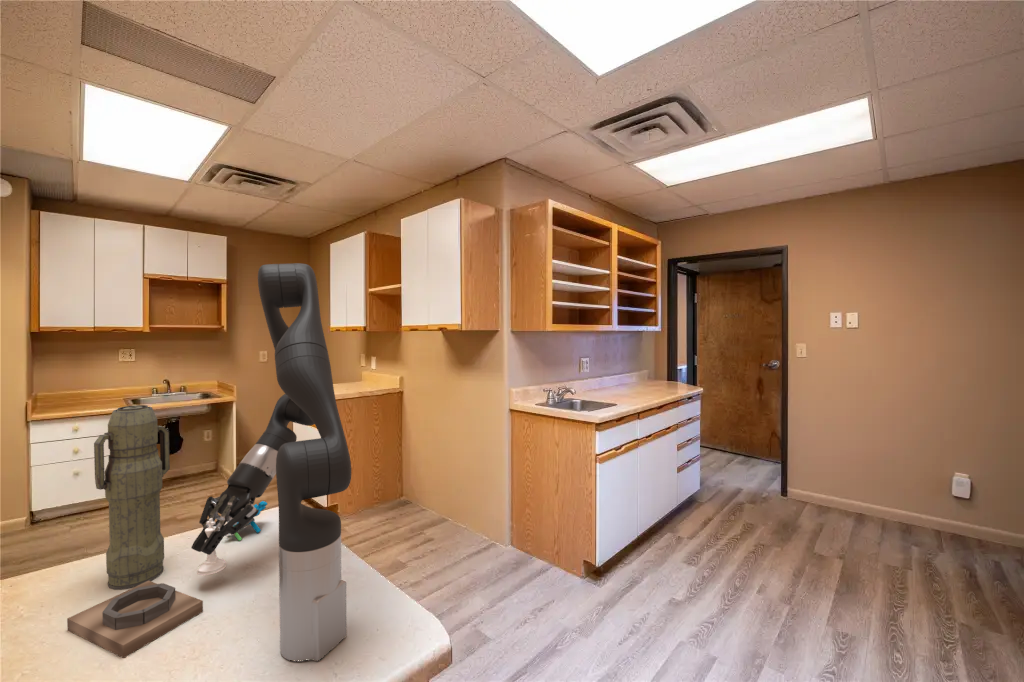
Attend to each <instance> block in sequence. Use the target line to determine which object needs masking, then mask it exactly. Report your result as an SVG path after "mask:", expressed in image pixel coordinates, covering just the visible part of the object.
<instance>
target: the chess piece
mask: <svg viewBox="0 0 1024 682" xmlns="http://www.w3.org/2000/svg"><path fill="white" fill-rule="evenodd" d="M208 519H209V518H208ZM215 523H216V521H214V522H213V518H210V519H209V521H208V522H206V524H209V527H208V528H206V529H205V533H206V535H207V537H208V538H209V536H210V535H211V533H212V532H213V531H214V532H216V531H215V528H216V526H213V525H214V524H215ZM205 542H206V540H205ZM206 556H207V557H206V560H205V561H204V562H202V563H201V564H199V566H198V567H197V569H196V574H197V575H199V576H209V575H212V574H216V573H218V572H221V571H223V570H224V569H225V568H226V567H227V560H226V559H224V558H219V557H218V556H217V552H216V549H215V550H214V551H213V552H212V553H211V554H210V555H208V554H206Z"/></svg>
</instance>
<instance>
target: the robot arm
mask: <svg viewBox="0 0 1024 682" xmlns="http://www.w3.org/2000/svg"><path fill="white" fill-rule="evenodd" d="M257 285H258V292H259V297H260V302H261V306H262V310H263V314H264V317H265V321H266V324H267V328H268V332H269V335H270V339H271V342H272V345H273V348H274V361H275V362H274V363H275V365H274V366H275V374H276V380H277V383H278V386H279V388H280V389H281V390H282V392H283V393H284V394H283V395H281V396H280V397H279V398H278V399H277V401H276V403H275V405H274V408H273V410H272V413H271V416H270V419H269V421H268V423H267V426H266V429H265V431H264V432H263V433H262V435H260V437H259V439H258V440H257V441H256V443H255V444H254V445H253V446H252V447H251V448H250V450H249V451H248V452H247V453H246V454H245V455H244V456H243V459H242V460H241V461H240V462H239V464H237V467H236V468H235V469H234V471H233V472H232V473H231V475H230V476H229V477H228V479H227V480H226V483H227V488H226V489H225V490H224V491H223V492H221V493H220V496H217V497H213V496H208V497H207V499H206V501H205V503H204V507H203V510H202V514H201V516H200V519H199V522H198V523H199V524H200V525H201V526H202V529H201V531H200V533H198V535H197V537H196V538H195V539H194V541H193V542H192V545H191V546H190V547H191V549H192V550H194V551H196V552H199V553H201V552H202V553H204V554H206V555H207V554H208V555H210V554H211V553H212V552H213V551H214V550H215V551H216V549H217V547H218V546H219V544H220V543H221V542H222V540H223V539H224V538H225V537H226V536H228V535H229V534H230V535H231V534H233V535H234V534H235V533H236V532H237V533H238V532H240V531H241V530H242V529H241V528H242V527H243V526H244V525H245V524H247V523H248V522H249V521H250V520H251V519H252V518H255V517H257V516H256V515H257V514H258V512H259V511H258V510H257V509H256V508H254V506H253V505H255V501H256V498H261V497H262V496H263V495H264V492H265V491H266V489H267V488H268V487H269V486H270V484H271V482H272V481H273V479H274V478H275V476H276V488H277V489H276V490H277V501H278V564H279V565H278V577H279V578H278V586H279V588H278V591H279V592H278V596H279V600H278V601H279V602H278V603H279V652H280V655H281V656H282V657H283V658H284V659H285V660H287V661H290V660H295V661H294V662H296V661H297V662H303V661H302V660H306V659H314V660H313V661H315V660H317V661H316V662H319V661H320V660H319V659H321V658H322V659H323V658H324V657H325V656H327V654H328V653H330V652H329V651H330V650H331V649H332V648H333V649H334V648H336V646H338V645H339V644H340V643H341V642H342V641H343V640H344V639H345V638H346V637H347V636H346V635H347V581H346V580H344V579H342V519H341V517H340V516H339V514H337V513H336V512H334V511H331V510H329V509H325V508H324V509H323V508H314V507H310V506H307V505H305V504H303V503H302V502H303V501H305V500H309V499H314V498H321V497H325V496H329V495H330V496H331V495H334V494H339V493H341V492H344V491H346V490H347V489H348V488H349V486H350V484H351V481H352V462H351V455H350V451H349V448H348V443H347V439H346V434H345V431H344V428H343V424H342V420H341V417H340V412H339V409H338V406H337V401H336V395H335V387H334V382H333V375H332V366H331V362H330V361H331V360H330V355H329V350H328V347H327V342H326V339H325V333H324V329H323V328H324V327H323V325H322V324H323V323H322V318H321V310H320V301H319V290H318V289H319V288H318V282H317V277H316V273H315V271H314V269H313V268H312V266H310V265H309V264H306V263H299V262H297V263H272V264H271V263H268V264H262V265H261V266H260V267H259V269H258V271H257ZM298 307H300V310H299V312H298V314H297V317H296V318H295V319H294V320H293V322H292V323H291V325H289V326H288V325H287V323H286V321H285V320H284V317H283V316H282V314H281V313H282V312H281V310H280V309H282V308H284V309H286V308H298ZM290 423H295V424H299V425H302V426H309V427H310V426H314V425H315V428H316V429H317V431H318V434H319V436H320V438H319V437H318V438H311V439H304V440H298V439H297V438H298V437H297V433H295V431H293V430H292V429H291V428H289V427H288V425H289V424H290ZM297 440H298V441H297ZM254 516H255V517H254ZM210 518H213V522H215V524H214V525H213V526H216V528H215V531H216V532H214V531H213V532H212V533H211V535H210V536H209V538H208V537H207V535H206V533H205V529H206V528H208V527H209V524H206V522H208V521H209V519H210ZM237 522H239V523H238V524H237ZM236 524H237V525H236ZM233 525H236V526H235V527H234V526H233ZM240 529H241V530H240ZM205 540H206V542H205ZM345 636H346V637H345ZM344 637H345V638H344ZM343 638H344V639H343ZM342 639H343V640H342ZM341 640H342V641H341ZM340 641H341V642H340ZM339 642H340V643H339ZM333 649H332V650H333ZM332 650H331V651H332ZM324 655H325V656H324ZM323 656H324V657H323ZM322 659H321V660H322ZM298 660H299V661H298ZM300 660H301V661H300ZM318 660H319V661H318Z"/></svg>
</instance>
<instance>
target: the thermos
mask: <svg viewBox="0 0 1024 682" xmlns="http://www.w3.org/2000/svg"><path fill="white" fill-rule="evenodd" d="M158 432H159V433H158ZM158 434H159V436H158ZM158 437H159V438H158ZM106 441H107V447H108V450H109V455H108V463H107V465H106V468H105V447H104V446H105V445H104V444H105V442H106ZM158 442H159V449H160V450H159V449H158V448H157V447H158V445H157V444H158ZM159 452H160V453H159ZM93 453H94V454H93V455H94V461H93V464H94V483H95V488H96V489H97V490H104V495H105V496H104V497H105V499H106V500H107V502H108V524H109V526H108V527H109V528H108V529H109V533H108V534H109V546H108V547H107V550H106V553H105V555H106V556H105V560H106V565H105V566H106V574H107V579H108V580H107V586H108V587H109V589H112V590H127V589H128V590H129V589H132V588H134V587H136V586H138V585H140V584H142V583H144V582H147V581H151V582H153V581H154V580H155V579H157V578H158V577H160V576H161V575H162V574H163V573H164V568H165V567H164V559H165V538H164V536H163V534H162V533H161V499H160V498H161V495H160V493H161V490H162V489H163V477H164V475H166V474H167V473H168V472H169V470H170V469H171V467H170V464H171V463H170V461H171V460H170V432H169V430H167V429H166V428H165V426H162V425H158V418H157V415H156V413H155V411H154V408H153V407H151V406H148V405H147V404H145V405H144V404H141V405H140V404H138V405H137V404H136V405H127V406H119V407H117V408H116V409H113V411H112V413H111V415H110V417H109V420H108V423H107V432H104V433H103V434H100V435H99V436H98V437H97V438H96V440H95V441H94V443H93ZM159 454H160V455H159Z"/></svg>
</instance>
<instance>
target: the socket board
mask: <svg viewBox="0 0 1024 682" xmlns="http://www.w3.org/2000/svg"><path fill="white" fill-rule="evenodd" d="M203 612H204V600H202V599H200V598H197V597H194V596H191V595H190V594H189V595H188V594H186V593H183V592H181V591H178V590H176V587H174V586H172V585H169V584H166V583H164V582H161V583H156V582H154V581H147V582H144V583H142V584H140V585H138V586H136V587H133V588H128V590H127V589H126V590H125V591H123V592H121V593H118V594H117V595H115V596H113V597H111V598H108V599H106V600H104V601H102V602H99V603H98V604H95V605H93V606H90V607H89V608H87V609H85V610H82V611H80V612H78V613H76V614H73V615H72V616H70V617H68V618H67V620H66V621H67V631H68V630H69V631H68V632H70V631H71V632H70V633H72V632H73V633H72V634H74V633H75V634H74V635H76V634H77V636H78V635H79V637H81V638H82V637H83V639H84V640H87V641H89V642H91V643H92V644H95V645H97V646H99V647H100V648H102V649H104V650H107V651H109V652H111V653H113V654H114V655H117V656H119V657H121V658H122V659H124V658H126V657H127V656H129V655H131V654H132V653H134V652H136V651H138V650H139V649H141V648H142V647H144V646H146V645H148V644H150V643H152V642H153V641H155V640H157V639H158V638H160V637H162V636H163V635H165V634H167V633H169V632H170V631H172V630H173V629H175V628H177V627H179V626H181V625H182V624H184V623H186V622H187V621H190V620H191V619H192V618H194V617H197V616H199V614H201V613H203Z"/></svg>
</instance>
